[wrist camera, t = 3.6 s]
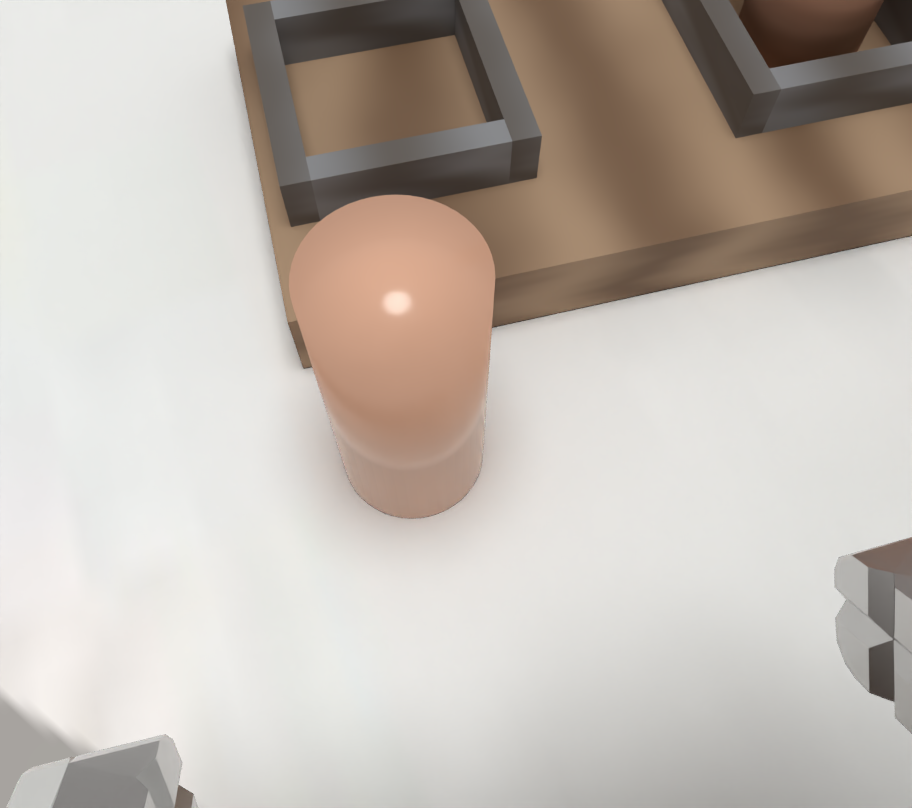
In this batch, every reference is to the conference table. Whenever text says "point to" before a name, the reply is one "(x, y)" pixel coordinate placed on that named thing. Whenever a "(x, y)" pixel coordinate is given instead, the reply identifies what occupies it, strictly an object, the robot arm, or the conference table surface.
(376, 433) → the terracotta pillar
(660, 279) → the build base
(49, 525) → the conference table surface
